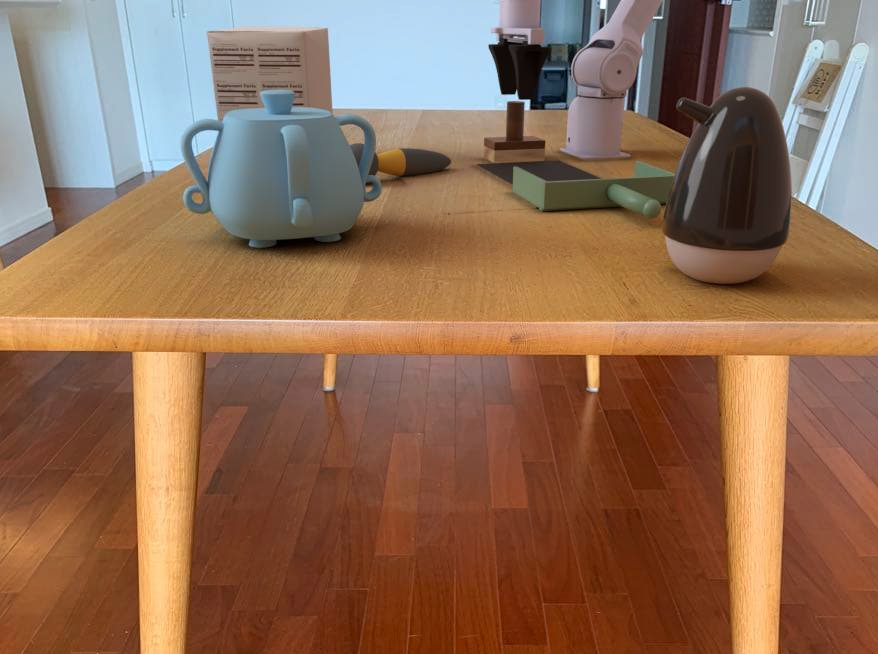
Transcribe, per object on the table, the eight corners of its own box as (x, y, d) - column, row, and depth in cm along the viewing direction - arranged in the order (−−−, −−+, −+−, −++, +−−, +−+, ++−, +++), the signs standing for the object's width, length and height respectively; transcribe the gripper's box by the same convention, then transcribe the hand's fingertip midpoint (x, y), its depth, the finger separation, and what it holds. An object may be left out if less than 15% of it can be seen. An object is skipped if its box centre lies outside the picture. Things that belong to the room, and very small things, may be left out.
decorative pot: (170, 240, 79) (147, 92, 73) (283, 208, 92) (271, 80, 86) (296, 265, 72) (281, 103, 66) (400, 227, 84) (396, 87, 78)
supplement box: (253, 152, 127) (240, 26, 120) (337, 153, 127) (329, 27, 119) (220, 172, 112) (202, 28, 104) (315, 173, 112) (305, 29, 104)
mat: (476, 166, 118) (476, 164, 118) (558, 162, 121) (559, 160, 121) (518, 190, 102) (518, 187, 102) (611, 185, 106) (612, 182, 105)
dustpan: (512, 193, 100) (513, 166, 99) (636, 187, 104) (638, 160, 103) (579, 233, 82) (581, 201, 81) (725, 223, 87) (729, 192, 85)
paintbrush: (432, 166, 117) (432, 130, 115) (456, 171, 114) (456, 134, 111) (319, 185, 104) (316, 144, 102) (341, 190, 101) (339, 149, 99)
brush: (483, 159, 123) (484, 100, 119) (532, 157, 125) (534, 99, 122) (494, 164, 119) (495, 104, 115) (544, 162, 121) (547, 103, 117)
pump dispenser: (640, 259, 74) (660, 81, 67) (751, 258, 75) (781, 81, 68) (675, 294, 65) (701, 92, 58) (800, 293, 65) (841, 92, 59)
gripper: (477, -7, 117) (476, 93, 123) (510, -9, 105) (507, 102, 111) (522, -7, 119) (519, 92, 125) (560, -8, 107) (555, 101, 113)
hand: (516, 97), depth 118 cm, fingers open, 7 cm apart
